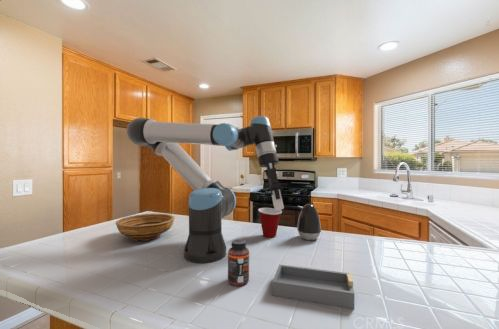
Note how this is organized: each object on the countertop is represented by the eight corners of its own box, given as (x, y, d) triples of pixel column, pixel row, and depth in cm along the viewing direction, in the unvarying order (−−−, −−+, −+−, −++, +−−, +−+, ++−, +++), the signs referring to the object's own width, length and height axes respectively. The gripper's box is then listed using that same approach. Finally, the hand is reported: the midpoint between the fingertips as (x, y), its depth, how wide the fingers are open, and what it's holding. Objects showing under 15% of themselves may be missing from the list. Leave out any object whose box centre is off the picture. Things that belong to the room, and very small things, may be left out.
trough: (272, 295, 60) (272, 276, 60) (279, 276, 70) (279, 260, 70) (354, 308, 54) (354, 288, 54) (349, 286, 64) (349, 268, 64)
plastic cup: (275, 241, 101) (275, 213, 101) (253, 237, 106) (253, 210, 106) (285, 234, 110) (285, 209, 110) (265, 231, 116) (265, 206, 115)
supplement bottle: (246, 288, 63) (246, 245, 63) (225, 285, 65) (225, 244, 64) (251, 277, 69) (251, 238, 69) (231, 275, 70) (231, 237, 70)
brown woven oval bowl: (153, 250, 91) (153, 229, 91) (96, 246, 94) (96, 226, 94) (185, 228, 120) (185, 213, 120) (141, 226, 124) (141, 211, 124)
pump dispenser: (294, 235, 110) (294, 202, 110) (316, 234, 111) (316, 201, 110) (300, 242, 100) (300, 206, 99) (324, 241, 100) (324, 205, 100)
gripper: (278, 143, 80) (292, 206, 75) (275, 161, 104) (286, 209, 99) (256, 147, 80) (269, 210, 75) (258, 164, 104) (268, 212, 99)
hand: (279, 210), depth 87 cm, fingers open, 13 cm apart
